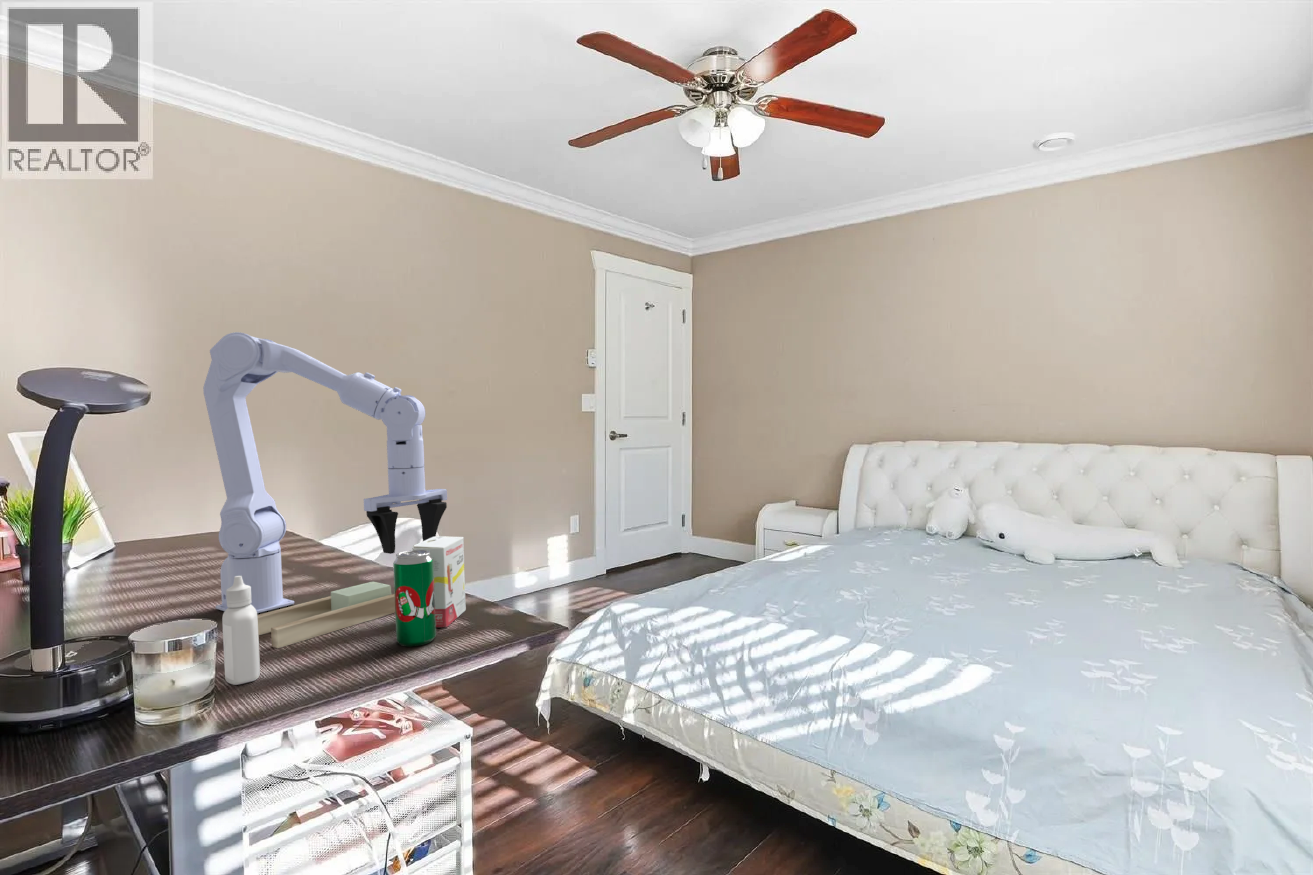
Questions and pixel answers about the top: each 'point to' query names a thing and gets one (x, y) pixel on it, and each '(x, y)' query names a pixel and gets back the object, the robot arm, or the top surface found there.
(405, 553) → the soda can
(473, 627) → the top surface
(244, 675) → the eye dropper bottle
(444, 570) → the ink box
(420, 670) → the top surface
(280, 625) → the chute
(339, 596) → the sage block
